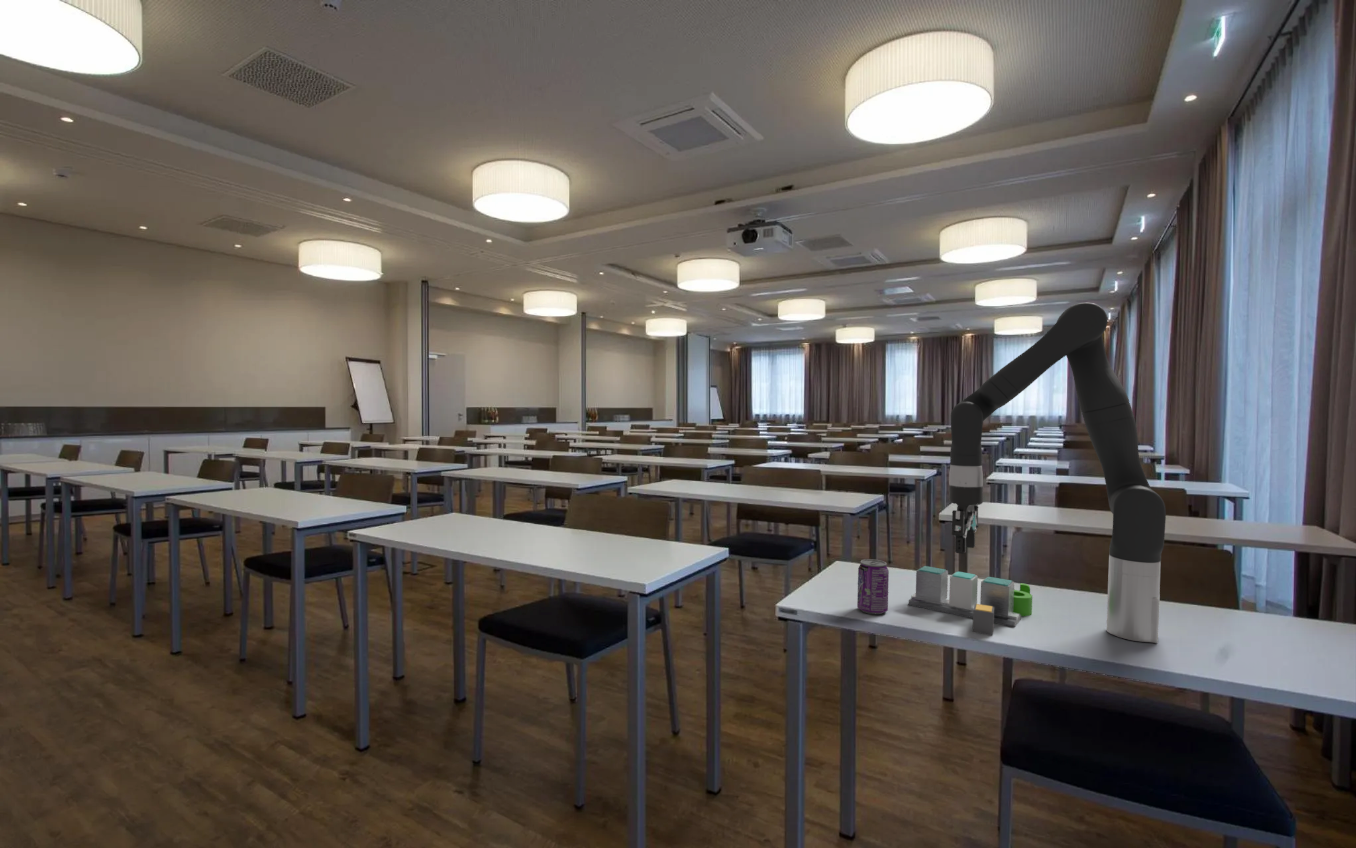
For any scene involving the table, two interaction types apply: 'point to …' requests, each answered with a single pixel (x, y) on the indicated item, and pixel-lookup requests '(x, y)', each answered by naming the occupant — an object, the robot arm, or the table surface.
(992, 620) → the block
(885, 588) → the beverage can
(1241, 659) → the table surface
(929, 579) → the rail
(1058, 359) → the robot arm
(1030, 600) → the tape dispenser
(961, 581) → the block
